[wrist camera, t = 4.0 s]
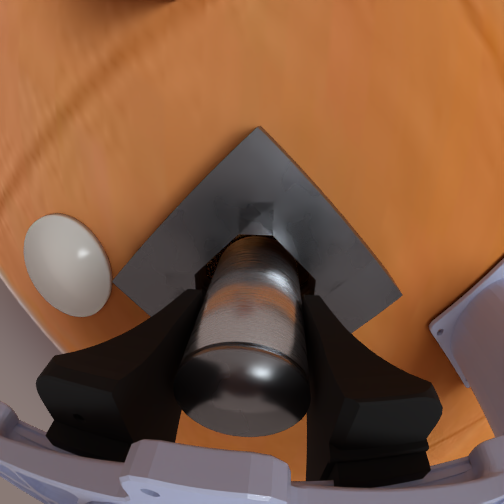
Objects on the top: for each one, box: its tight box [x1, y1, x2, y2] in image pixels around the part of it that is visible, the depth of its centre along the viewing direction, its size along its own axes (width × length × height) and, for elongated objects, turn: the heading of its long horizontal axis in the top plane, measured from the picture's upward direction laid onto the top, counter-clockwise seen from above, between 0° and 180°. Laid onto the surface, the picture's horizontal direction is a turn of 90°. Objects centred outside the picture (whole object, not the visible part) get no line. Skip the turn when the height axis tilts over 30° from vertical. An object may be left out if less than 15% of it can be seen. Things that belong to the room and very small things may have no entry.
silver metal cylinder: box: [173, 236, 311, 437], centre depth 12 cm, size 4×4×8 cm
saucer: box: [24, 213, 112, 317], centre depth 17 cm, size 7×7×1 cm
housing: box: [112, 126, 402, 333], centre depth 15 cm, size 10×10×2 cm
